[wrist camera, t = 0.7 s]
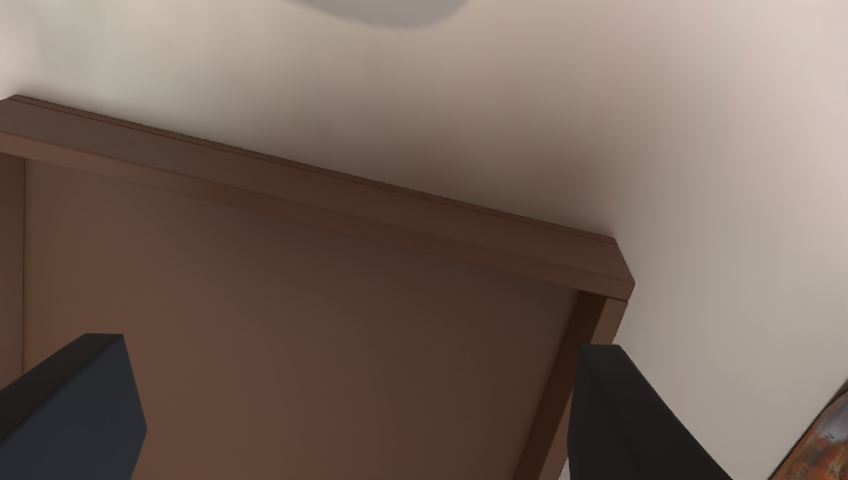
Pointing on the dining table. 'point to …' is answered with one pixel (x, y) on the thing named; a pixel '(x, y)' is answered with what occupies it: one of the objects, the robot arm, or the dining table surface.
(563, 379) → the tray
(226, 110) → the dining table surface
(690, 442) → the robot arm
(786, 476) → the tin
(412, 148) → the dining table surface
